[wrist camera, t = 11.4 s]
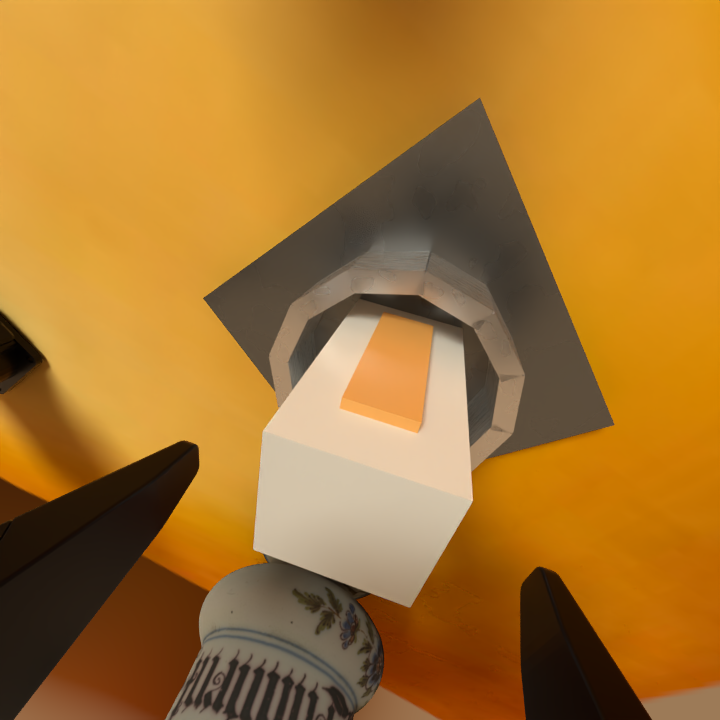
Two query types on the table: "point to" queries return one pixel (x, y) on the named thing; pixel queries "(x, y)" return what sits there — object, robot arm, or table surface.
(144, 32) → the table surface
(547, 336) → the duct collar
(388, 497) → the white block
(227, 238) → the table surface
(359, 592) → the apothecary jar
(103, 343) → the table surface
